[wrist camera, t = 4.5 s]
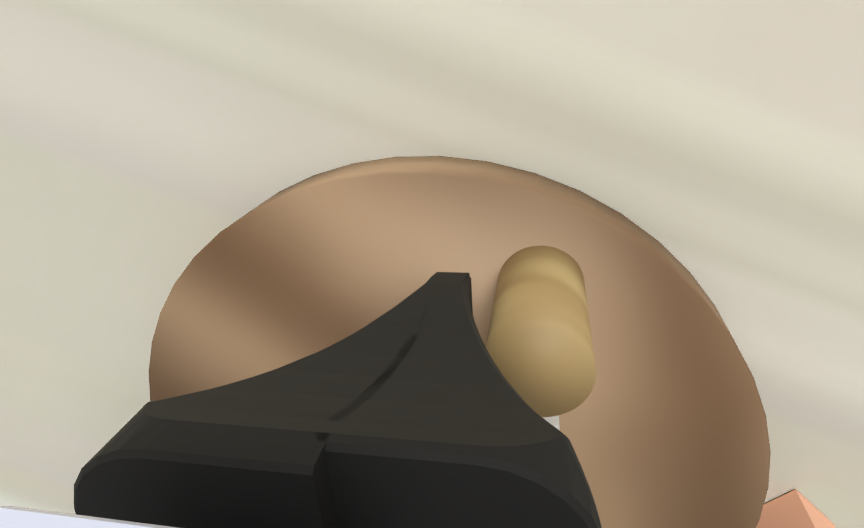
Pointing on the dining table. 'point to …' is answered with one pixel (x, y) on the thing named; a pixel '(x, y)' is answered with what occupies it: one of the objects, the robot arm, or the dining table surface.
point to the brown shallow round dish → (495, 321)
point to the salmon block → (792, 513)
